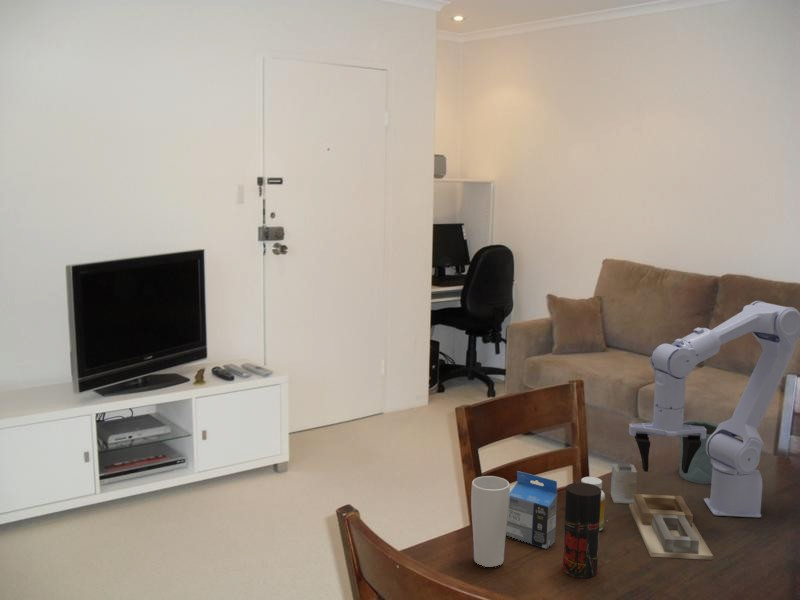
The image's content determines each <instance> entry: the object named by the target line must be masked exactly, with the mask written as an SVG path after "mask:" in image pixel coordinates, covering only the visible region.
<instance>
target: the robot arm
mask: <svg viewBox="0 0 800 600" xmlns="http://www.w3.org/2000/svg"><path fill="white" fill-rule="evenodd" d="M749 333H751V334H752V335H753V337H754V338H755V339H756V340H757V342H758V343H759V344H760V348H761V350H762V352H761V354H760V356H759V358H758V360H757V363H756V364H755V367H754V368H753V371H752V373H751V375H750V378H749V379H748V382H747V384H746V385H745V388H744V390H743V392H742V395H741V397H740V399H739V400H738V403H737V405H736V407H735V409H734V411H733V414H732V416H731V417H730V419H727V420H725V421H722V422H720V423H718V427H717V429H716V430H715V432H714V433H713V434H712V435H710V437H709V438H708V440H707V442H706V453H707V455H708V456H709V457H710V458H711V464H712V465H713V468H712V482H711V486H710V497H704V498H703V501H704V503H705V504H706V506H707V507H708V509H709V511H710V513H711V514H712V515H713V516H720V517H721V516H722V517H723V516H724V517H725V516H726V517H741V518H742V517H743V518H762V514H761V512H762V510H761V509H762V500H763V499H762V498H763V497H762V496H763V478H762V477H763V476H762V475H761V472H760V470H758V469H757V467H758V465H759V464H760V461H761V460H760V459H761V452H762V449H763V446H764V440H763V438H762V437H761V435H760V433H759V431H758V430H759V428H760V426H761V424H762V422H763V419H764V418H765V415H766V414H767V411H768V409H769V407H770V404H771V402H772V400H773V398H774V396H775V393H776V392H777V390H778V388H779V385H780V383H781V381H782V379H783V377H784V375H785V372H786V370H788V369H787V368H788V366H789V364H790V361H791V359H792V358H793V355H794V352H795V348H796V344H797V341H798V340H799V338H800V311H799V310H798V308H797V309H796V307H791V306H784V305H778V304H774V303H769V302H765V301H763V300H755V301H753V302H751V303H750V304H746V305H744V306H743V308H742V311H741V312H739V313H736V314H735V315H733V316H732V317H731V318H728V319H727V320H725V321H724V322H722V323H720V324H719V325H717V326H716V327H714V328H712V329H709V328H707V327H696V328H694V329H693V332H692V333H689V334H688V335H685V336H683V337H682V338H677V339H675V340H674V342H672V343H661V344H659V345H658V346H657V347H656V348H655V349H654V350H653V352H652V355H651V356H650V357H649V363H650V366H651V367H652V369H653V377H654V379H655V380H654V381H655V382H654V395H653V397H654V398H653V410H652V411H653V413H652V414H653V416H652V422H645V423H644V422H642V423H641V422H640V423H628V424H629V425H628V426H629V427H628V434H629V436H630V437H634V439H635V442H636V445H637V447H638V450H639V454H640V458H641V464H642V465H641V468H642V470H643V472H645V473H648V472H649V455H650V447H651V441H650V437H649V436H652V437H654V436H655V437H656V436H657V437H677V438H678V437H679V438H680V437H683V456H682V471H683V472H684V473H688V469H689V466H690V463H691V461H692V459H693V457H694V455H695V453H696V452H697V450H698V449H699V448H700V446H701V440H700V438H701V439H706V428H705V427H704V426H693V425H685V424H683V422H684V417H685V415H684V413H685V401H686V399H685V398H686V383H687V377H688V376H690V374H691V373H692V371H693V370H694V368H695V367H696V366H697V365H698V364H699V363H701V362H704V361H705V360H707V359H710V358H711V357H713V356H715V355H717V354H718V353H719V352H720V350H721V345H723V344H726V343H729V342H731V341H732V340H736V339H738V338H740V337H742V336H744V335H747V334H749ZM737 437H739V438H737Z"/></svg>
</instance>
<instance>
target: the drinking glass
mask: <svg viewBox="0 0 800 600" xmlns="http://www.w3.org/2000/svg"><path fill="white" fill-rule="evenodd" d="M510 488H511V487H510V482H509V481H508V480H507V479H505V478H504V477H500V476H494V475H485V476H484V475H483V476H478V477H475V478H474V479H473V480H472V482H471V490H470V491H471V494H470V495H471V496H470V505H471V506H470V507H471V521H472V523H471V524H472V535H473V536H472V538H473V541H472V542H473V561H474V562H475V564H476V563H477V565H478V564H479V565H482V566H485V567H493V566H498V565H500V566H501V565H502V564H503V563H504V559H505V547H506V546H505V545H506V538H507V537H506V530H507V522H508V513H509V503H510V492H511V489H510ZM479 565H478V566H479ZM482 566H481V567H482ZM485 567H484V568H485ZM498 567H499V566H498Z"/></svg>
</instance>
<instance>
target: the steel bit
mask: <svg viewBox="0 0 800 600" xmlns="http://www.w3.org/2000/svg"><path fill="white" fill-rule="evenodd" d="M637 485H638V471H637V469H636V467H635V464H630V463H626V462H618V463H612V464H611V481H610V497H611V498H612V502H613V503H614V504H634V494H637Z"/></svg>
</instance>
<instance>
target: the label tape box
mask: <svg viewBox="0 0 800 600" xmlns="http://www.w3.org/2000/svg"><path fill="white" fill-rule="evenodd" d="M516 477H517V478H516V483H515V485H514V486H513V488H512V489H511V490H510V503H509V513H508V522H507V530H506V535H507V536H510V537H512V538H511V539H513V538H515V539H514V540H516V539H518V540H517V541H520V540H521V542H523V541H524V542H523V543H526V542H527V544H529V543H530V545H534V546H536V547H540V548H542V549H549V548H550V547H551V546H552V545H553V543H554V544H555V542H556V525H557V503H558V481H557V480H554V479H550V478H546V477H542V476H539V475H534V474H531V473H528V472H524V471H523V472H522V471H519V470H517V471H516ZM531 481H532V482H531ZM536 481H537V482H538V483H540V484H543V485H540V484H536V483H533V482H536ZM510 537H509V538H510ZM549 546H550V547H549Z"/></svg>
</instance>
